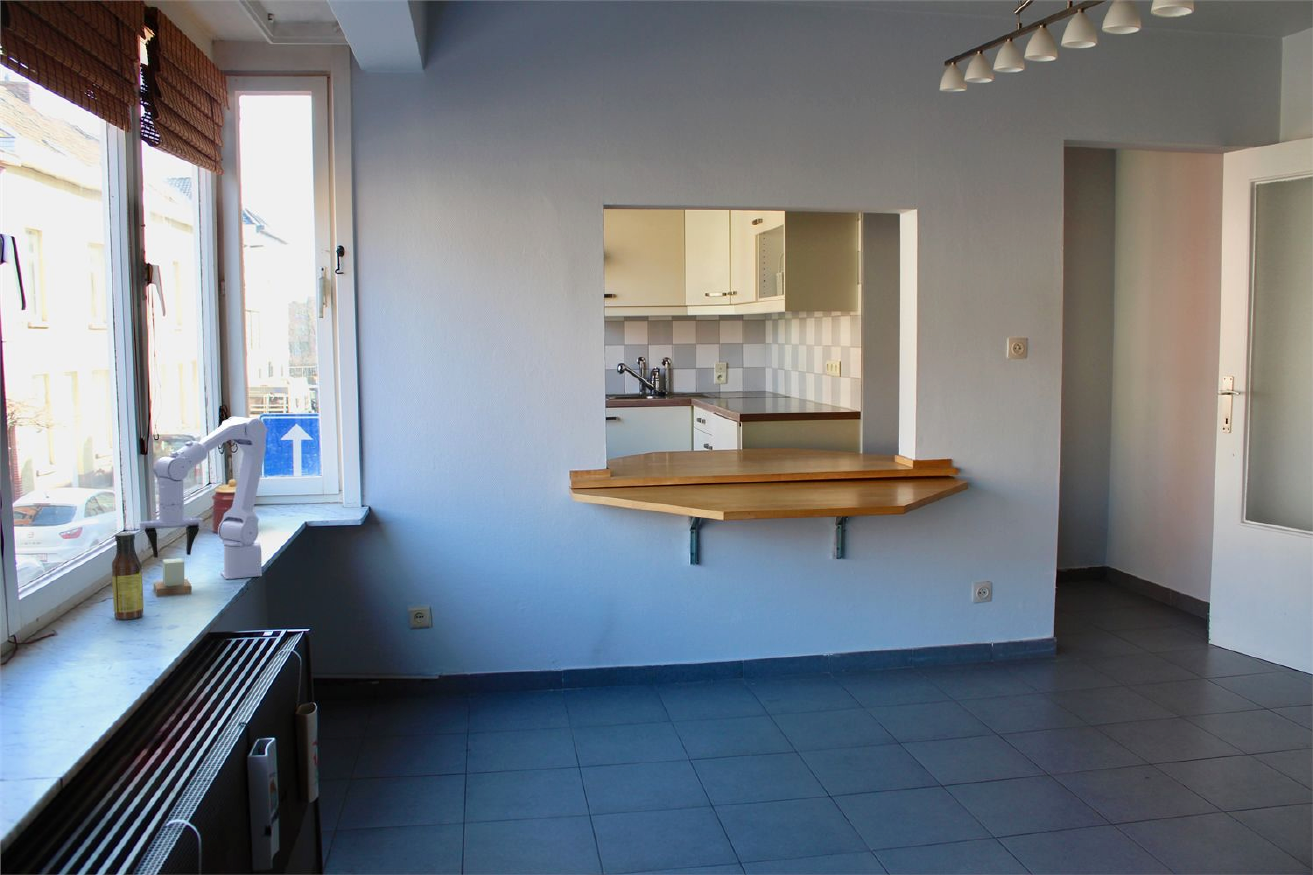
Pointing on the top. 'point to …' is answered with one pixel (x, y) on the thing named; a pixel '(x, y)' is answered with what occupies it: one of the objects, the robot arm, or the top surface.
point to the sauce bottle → (127, 579)
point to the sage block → (173, 572)
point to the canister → (222, 502)
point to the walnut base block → (172, 589)
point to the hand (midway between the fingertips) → (172, 555)
